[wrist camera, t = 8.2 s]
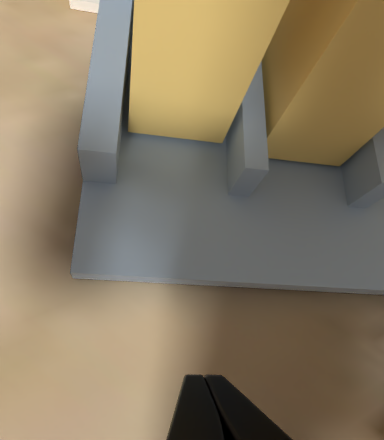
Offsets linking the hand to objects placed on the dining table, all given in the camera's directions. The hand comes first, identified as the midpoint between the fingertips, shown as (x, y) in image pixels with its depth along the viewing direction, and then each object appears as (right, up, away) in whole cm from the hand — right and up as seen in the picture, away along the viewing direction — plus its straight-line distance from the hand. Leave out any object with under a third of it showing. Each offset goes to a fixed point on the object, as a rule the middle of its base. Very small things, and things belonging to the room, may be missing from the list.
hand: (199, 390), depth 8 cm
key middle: (+5, +9, +11) cm, 15 cm away
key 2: (-1, +10, +10) cm, 14 cm away
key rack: (+5, +7, +11) cm, 14 cm away
